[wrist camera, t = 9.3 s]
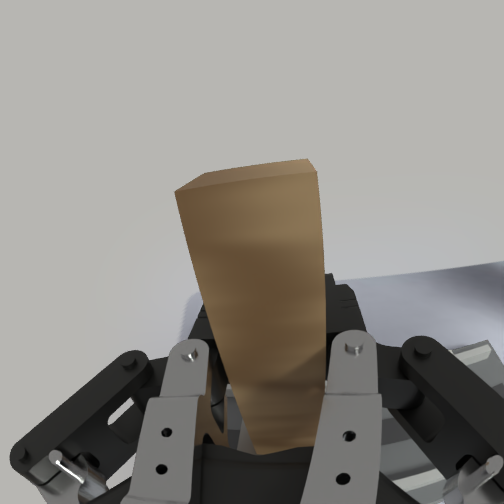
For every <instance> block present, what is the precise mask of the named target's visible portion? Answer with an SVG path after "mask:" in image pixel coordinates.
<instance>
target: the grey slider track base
mask: <svg viewBox="0 0 504 504" xmlns="http://www.w3.org/2000/svg"><path fill="white" fill-rule="evenodd" d="M448 351H450V352H451V353H452V354H453V355H454V356H455V357H457V358H458V359H459V360H460V361H461V362H463V363H464V364H465V365H466V366H467V367H468V368H470V369H471V370H472V371H473V372H474V373H475V374H477V375H478V376H479V377H480V378H481V379H482V380H483V381H485V382H486V383H487V384H488V385H489V386H490V387H491V388H493V389H494V390H495V391H496V392H497V393H498V394H499V395H500V396H501V397H502V398H504V365H503V364H502V362H501V360H500V359H499V357H498V355H497V354H496V352H495V350H494V349H493V347H492V346H491V344H490V343H489V341H488V340H485V341H482V342H479V343H475V344H472V345H469V346H465V347H462V348H458V349H455V350H448ZM326 386H327V381H325V387H326ZM226 395H227V436H228V444H229V447H230V448H232V449H235V450H237V447H238V441H239V435H240V430H241V424H242V415H241V413H240V410H239V407H238V405H237V402H236V399H235V397H234V394H233V391H232V388H231V385H230V384H227V388H226ZM379 471H380V472H382V473H383V474H384V475H385V476H386V477H388V478H389V479H390V480H391V481H392V482H394V483H395V484H396V485H397V486H399V487H400V488H401V489H402V490H404V491H405V492H406V493H407V494H409V495H410V496H411V497H413V498H414V499H415V500H417V501H418V502H419V503H421V504H437V503H439V502H442V501H444V500H443V495H442V493H443V487H444V485H445V483H446V481H447V480H446V479H445V478H444V477H443V475H442V474H441V473H440V472H439V471H438V469H437V468H436V467H435V466H434V465H433V463H432V462H431V461H430V460H429V459H428V458H427V456H426V455H425V454H424V453H423V452H422V450H421V449H420V448H419V447H418V446H417V444H416V443H415V442H414V441H413V440H412V438H411V437H410V436H409V435H408V434H407V432H406V431H405V430H404V429H403V428H402V426H401V425H400V424H399V423H398V422H397V421H396V419H395V418H394V417H393V416H392V415H391V413H390V412H389V411H388V409H387V408H382V434H381V454H380V468H379Z"/></svg>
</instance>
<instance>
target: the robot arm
mask: <svg viewBox="0 0 504 504" xmlns="http://www.w3.org/2000/svg"><path fill="white" fill-rule="evenodd" d="M325 297H326V375H325V381H327V386H326V392H325V393H324V397H323V402H322V408H321V414H320V420H319V425H318V430H317V435H316V440H315V445H314V446H307V447H296V448H292V449H288V450H283V451H279V452H274V453H270V454H265V455H253V454H249V453H246V452H242V451H239V450H235V449H232V448H230V447H229V444H228V436H227V395H226V388H227V384H230V383H229V380H228V377H227V374H226V371H225V368H224V365H223V362H222V359H221V356H220V353H219V350H218V347H217V344H216V341H215V338H214V335H213V332H212V329H211V325H210V322H209V319H208V316H207V312H206V309H205V306H204V303H203V305H202V308H201V310H200V312H199V314H198V318H197V319H196V321H195V324H194V326H193V328H192V330H191V333H190V335H189V337H188V340H185V341H182V342H180V343H178V344H177V345H175V346H174V347H173V348H172V350H171V351H170V354H169V356H168V357H164V358H159V359H154V360H149V359H148V357H147V355H146V354H145V353H143V352H142V351H138V350H133V351H128V352H125V353H123V354H122V355H120V356H119V357H118V358H116V359H115V360H114V361H113V362H112V363H111V364H109V365H108V366H107V367H106V368H105V369H103V370H102V371H101V372H100V373H99V374H97V375H96V376H95V377H94V378H93V379H92V380H90V381H89V382H88V383H87V384H85V385H84V386H83V387H82V388H81V389H79V390H78V391H77V392H76V393H75V394H74V395H72V396H71V397H70V398H69V399H68V400H66V401H65V402H64V403H63V404H62V405H60V406H59V407H58V408H57V409H56V410H55V411H53V412H52V413H51V414H50V415H49V416H47V417H46V418H45V419H44V420H43V421H42V422H40V423H39V424H38V425H37V426H36V427H34V428H33V429H32V430H31V431H30V432H29V433H27V434H26V435H25V436H24V437H23V438H22V439H21V440H19V441H18V442H17V443H16V444H15V445H14V446H13V448H12V449H11V452H10V464H11V466H12V468H13V469H14V470H15V471H17V472H18V473H19V474H21V475H22V476H24V477H25V478H26V479H28V480H29V481H30V482H31V483H32V484H34V485H35V486H36V487H37V488H38V490H39V491H40V493H41V495H42V496H43V498H44V499H45V501H46V502H47V504H421V503H419V502H418V501H417V500H415V499H414V498H413V497H411V496H410V495H409V494H407V493H406V492H405V491H404V490H402V489H401V488H400V487H399V486H397V485H396V484H395V483H394V482H392V481H391V480H390V479H389V478H388V477H386V476H385V475H384V474H383V473H382V472H380V471H379V468H380V454H381V434H382V408H387V409H388V411H389V412H390V413H391V415H392V416H393V417H394V418H395V419H396V421H397V422H398V423H399V424H400V425H401V426H402V428H403V429H404V430H405V431H406V432H407V434H408V435H409V436H410V437H411V438H412V440H413V441H414V442H415V443H416V444H417V446H418V447H419V448H420V449H421V450H422V452H423V453H424V454H425V455H426V456H427V458H428V459H429V460H430V461H431V462H432V463H433V465H434V466H435V467H436V468H437V469H438V471H439V472H440V473H441V474H442V475H443V477H444V478H445V479H446V480H447V481H446V483H445V485H444V487H443V493H442V495H443V500H444V502H445V504H504V398H502V397H501V396H500V395H499V394H498V393H497V392H496V391H495V390H494V389H493V388H491V387H490V386H489V385H488V384H487V383H486V382H485V381H483V380H482V379H481V378H480V377H479V376H478V375H477V374H475V373H474V372H473V371H472V370H471V369H470V368H468V367H467V366H466V365H465V364H464V363H463V362H461V361H460V360H459V359H458V358H457V357H455V356H454V355H453V354H452V353H451V352H450V351H448V350H447V349H446V348H445V347H443V346H442V345H441V344H440V343H439V342H437V341H436V340H435V339H433V338H430V337H427V336H415V337H411V338H409V339H408V340H406V341H405V342H404V344H403V346H402V347H391V346H385V345H381V344H379V343H377V342H376V341H375V339H374V338H373V337H372V336H371V335H370V334H369V333H367V331H366V327H365V324H364V321H363V318H362V315H361V311H360V308H359V305H358V302H357V300H356V296H355V293H354V291H353V290H352V289H351V288H350V287H349V286H348V285H347V284H342V285H335V281H334V278H333V274H332V273H330V274H325ZM130 397H131V399H132V400H133V402H134V404H133V405H132V406H131V407H130V408H129V409H127V410H126V411H125V412H124V413H123V414H122V415H121V416H120V417H119V418H118V419H117V420H116V421H115V422H114V423H112V424H110V425H108V419H109V417H110V416H111V415H112V414H113V413H114V412H115V411H116V410H117V409H118V408H119V407H120V406H121V405H122V404H123V403H124V402H126V401H127V400H128V399H129V398H130ZM135 453H136V457H135V463H134V468H133V473H132V476H131V477H129V478H128V479H126V480H125V481H123V482H121V483H120V484H118V485H116V486H115V487H113V488H111V489H110V490H109V489H108V487H107V486H106V481H107V480H108V479H109V478H110V477H111V476H112V475H113V474H114V473H115V472H116V471H117V470H118V469H119V468H120V467H121V466H122V465H124V464H125V463H126V462H127V460H129V459H130V458H131V457H132V456H133V455H134V454H135Z"/></svg>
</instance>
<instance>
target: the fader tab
mask: <svg viewBox="0 0 504 504" xmlns="http://www.w3.org/2000/svg"><path fill="white" fill-rule="evenodd" d="M175 197H176V201H177V205H178V209H179V214H180V217H181V222H182V226H183V229H184V234H185V237H186V241H187V245H188V249H189V253H190V257H191V260H192V264H193V267H194V271H195V275H196V278H197V282H198V285H199V289H200V292H201V296H202V299H203V303H204V306H205V309H206V312H207V316H208V319H209V322H210V325H211V329H212V332H213V335H214V338H215V341H216V344H217V347H218V350H219V353H220V356H221V359H222V362H223V365H224V368H225V371H226V374H227V377H228V380H229V383H230V385H231V388H232V391H233V394H234V397H235V399H236V402H237V405H238V407H239V410H240V413H241V415H242V424H241V430H240V435H239V441H238V447H237V450H239V451H242V452H246V453H249V454H253V455H265V454H270V453H274V452H279V451H283V450H288V449H292V448H296V447H307V446H314V445H315V440H316V435H317V430H318V425H319V420H320V414H321V408H322V402H323V397H324V393H325V392H326V387H325V375H326V297H325V270H324V250H323V235H322V222H321V209H320V198H319V188H318V177H317V171H316V170H315V168H314V167H313V165H312V164H311V163H310V161H309V160H308V159H300V160H291V161H282V162H274V163H267V164H259V165H251V166H245V167H238V168H232V169H225V170H220V171H213V172H208V173H204V174H202V175H200V176H199V177H197V178H195V179H194V180H192V181H191V182H189V183H187V184H186V185H184V186H182V187H181V188H179V189H178V190H176V191H175Z"/></svg>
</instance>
